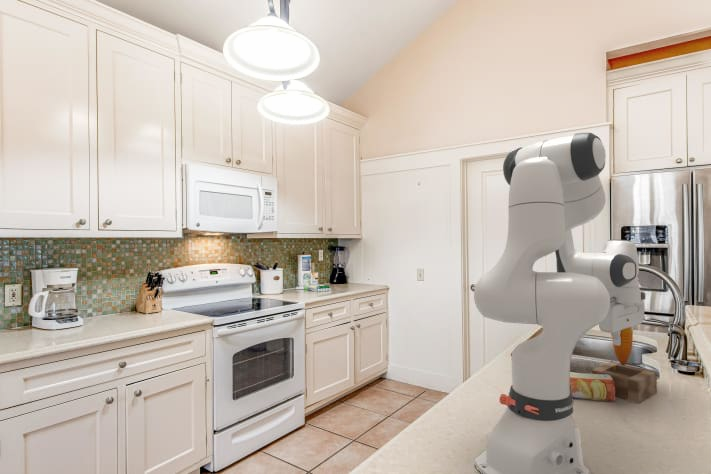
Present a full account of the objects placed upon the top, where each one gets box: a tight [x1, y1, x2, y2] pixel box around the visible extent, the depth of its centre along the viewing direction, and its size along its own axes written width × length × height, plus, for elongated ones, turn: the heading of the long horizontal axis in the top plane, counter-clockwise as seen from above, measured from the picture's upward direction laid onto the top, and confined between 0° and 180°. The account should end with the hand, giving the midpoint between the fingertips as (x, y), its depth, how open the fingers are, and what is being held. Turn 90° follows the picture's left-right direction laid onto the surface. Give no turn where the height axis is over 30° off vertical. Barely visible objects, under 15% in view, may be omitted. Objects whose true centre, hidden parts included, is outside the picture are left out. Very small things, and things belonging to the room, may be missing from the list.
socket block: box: [591, 361, 658, 404], centre depth 117 cm, size 12×12×6 cm
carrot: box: [612, 319, 634, 365], centre depth 117 cm, size 5×5×15 cm
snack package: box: [570, 372, 616, 403], centre depth 115 cm, size 21×7×7 cm, turn 69°
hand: (622, 343), depth 117 cm, fingers closed on carrot, 4 cm apart
